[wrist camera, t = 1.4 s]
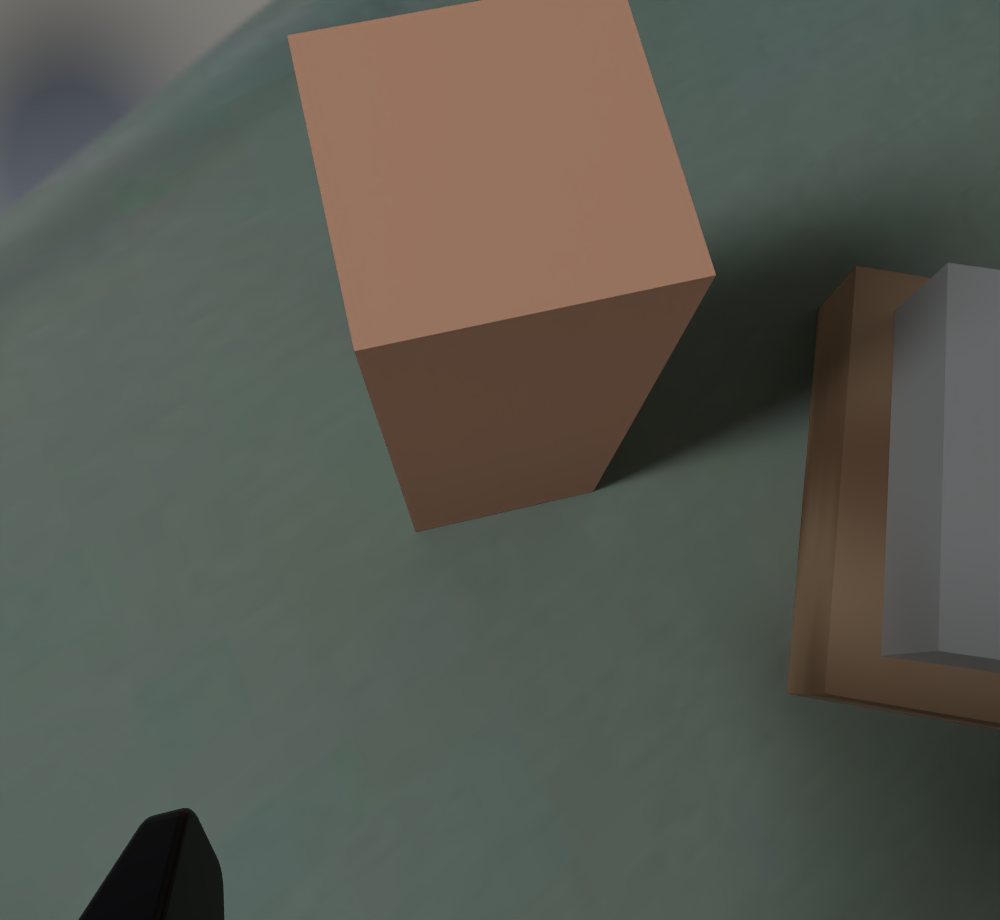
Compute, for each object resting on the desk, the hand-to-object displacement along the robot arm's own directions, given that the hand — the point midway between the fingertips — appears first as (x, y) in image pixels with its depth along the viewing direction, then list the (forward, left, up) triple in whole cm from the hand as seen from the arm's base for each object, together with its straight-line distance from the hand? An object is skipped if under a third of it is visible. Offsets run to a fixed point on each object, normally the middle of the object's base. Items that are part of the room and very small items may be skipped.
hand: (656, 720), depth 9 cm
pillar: (+6, +4, -13) cm, 15 cm away
